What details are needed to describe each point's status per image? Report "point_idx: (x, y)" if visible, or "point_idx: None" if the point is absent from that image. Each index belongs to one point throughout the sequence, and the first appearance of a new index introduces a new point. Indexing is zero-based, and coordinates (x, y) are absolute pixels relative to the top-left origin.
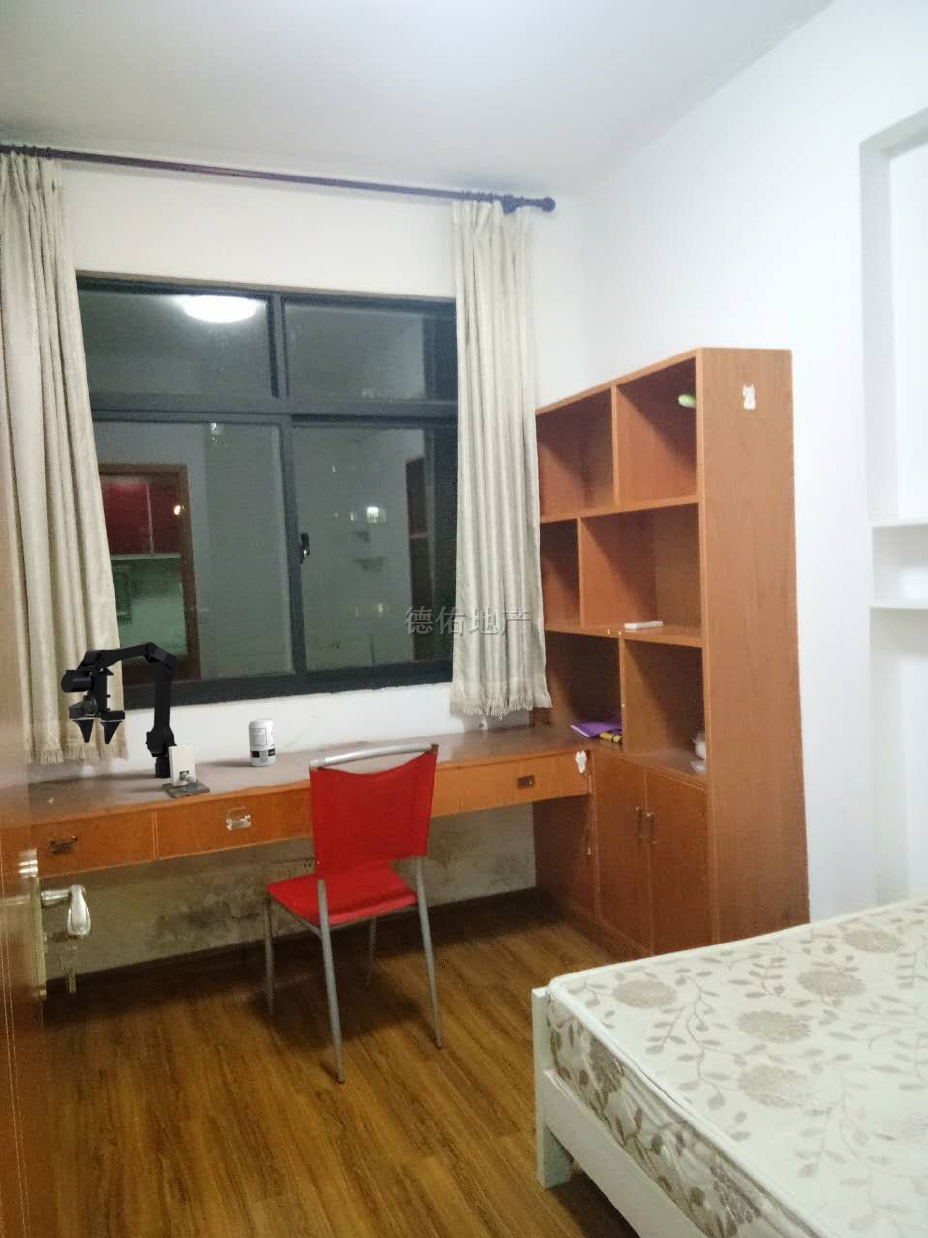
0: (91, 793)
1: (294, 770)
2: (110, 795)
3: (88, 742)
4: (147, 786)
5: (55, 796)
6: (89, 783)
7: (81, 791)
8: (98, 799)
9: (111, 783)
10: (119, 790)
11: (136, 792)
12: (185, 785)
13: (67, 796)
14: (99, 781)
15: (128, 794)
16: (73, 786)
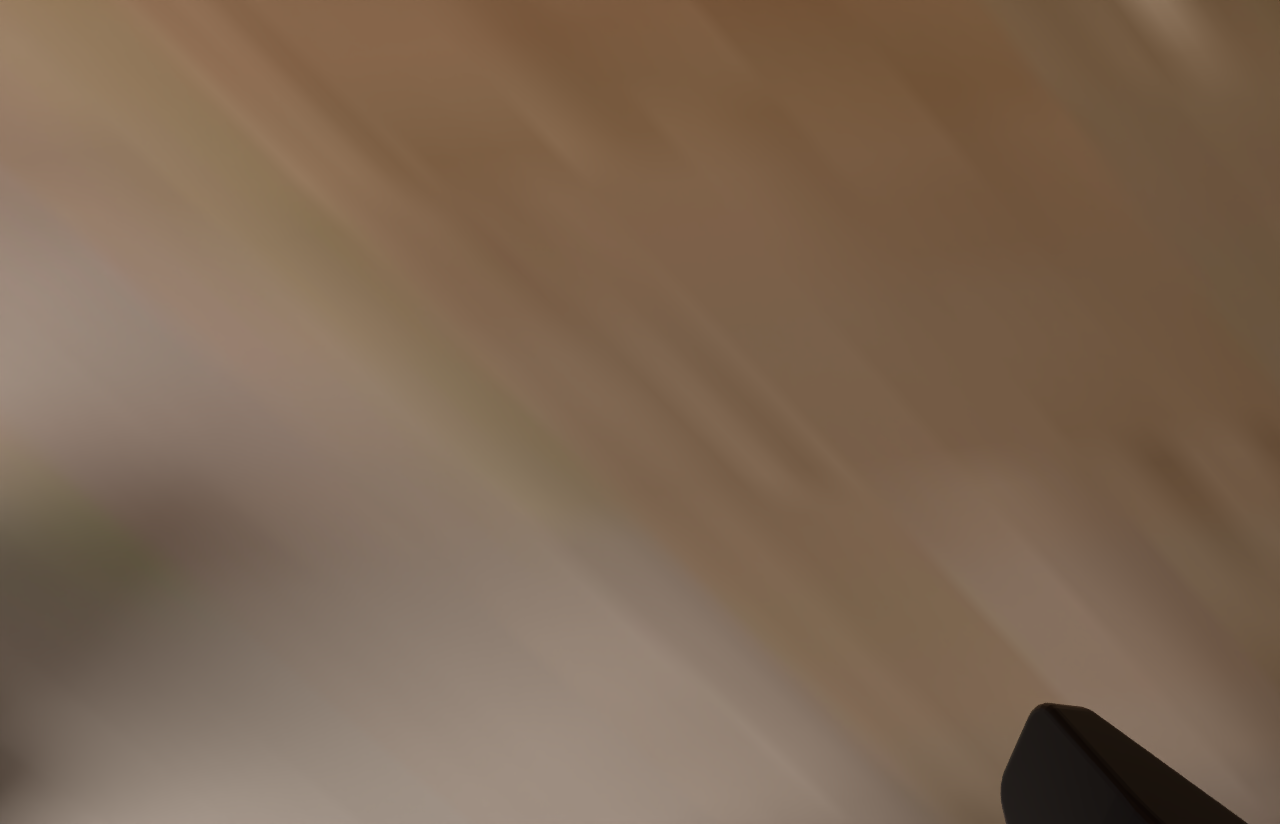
0: (747, 323)
1: None
2: (369, 273)
3: (1005, 785)
4: (240, 726)
5: (1177, 102)
6: (1135, 715)
7: (972, 389)
8: (363, 45)
9: (846, 759)
10: (461, 512)
11: (118, 465)
12: None
13: (991, 128)
14: None
15: (140, 359)
16: (1254, 574)
